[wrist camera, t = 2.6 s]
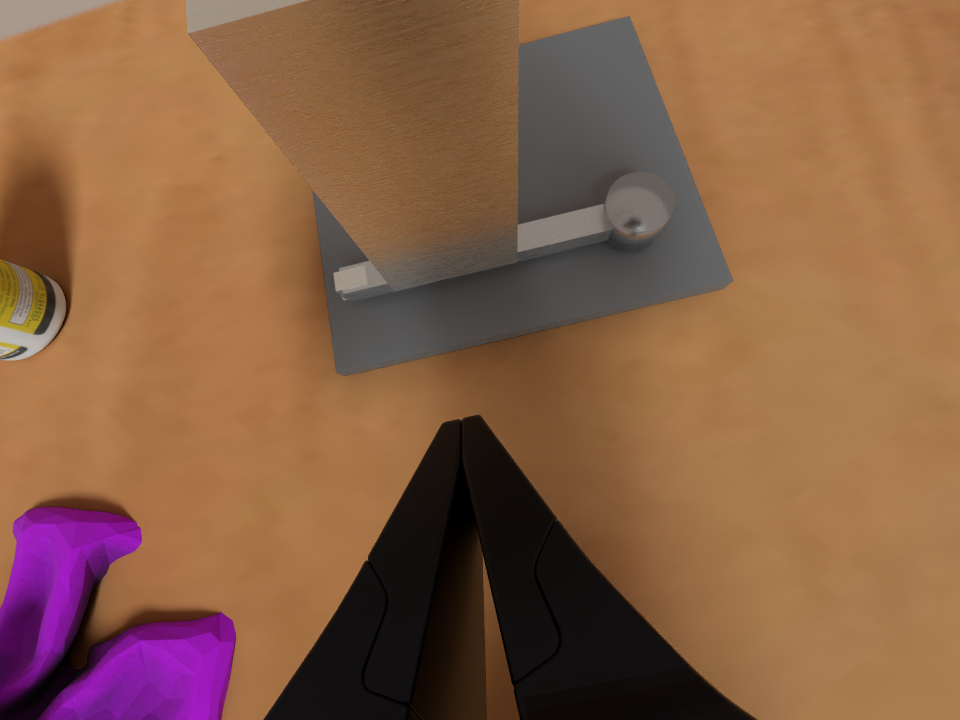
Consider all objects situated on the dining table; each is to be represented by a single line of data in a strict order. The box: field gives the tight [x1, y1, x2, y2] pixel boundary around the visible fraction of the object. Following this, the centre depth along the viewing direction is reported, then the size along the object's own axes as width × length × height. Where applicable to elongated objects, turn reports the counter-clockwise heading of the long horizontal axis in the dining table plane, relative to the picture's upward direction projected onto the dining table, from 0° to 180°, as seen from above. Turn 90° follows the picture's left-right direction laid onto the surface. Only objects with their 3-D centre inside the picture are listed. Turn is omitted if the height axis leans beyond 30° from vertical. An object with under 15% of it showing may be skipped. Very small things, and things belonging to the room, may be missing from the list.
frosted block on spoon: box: [186, 0, 675, 302], centre depth 13 cm, size 16×3×13 cm, turn 102°
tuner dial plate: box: [313, 16, 733, 376], centre depth 22 cm, size 20×17×1 cm
